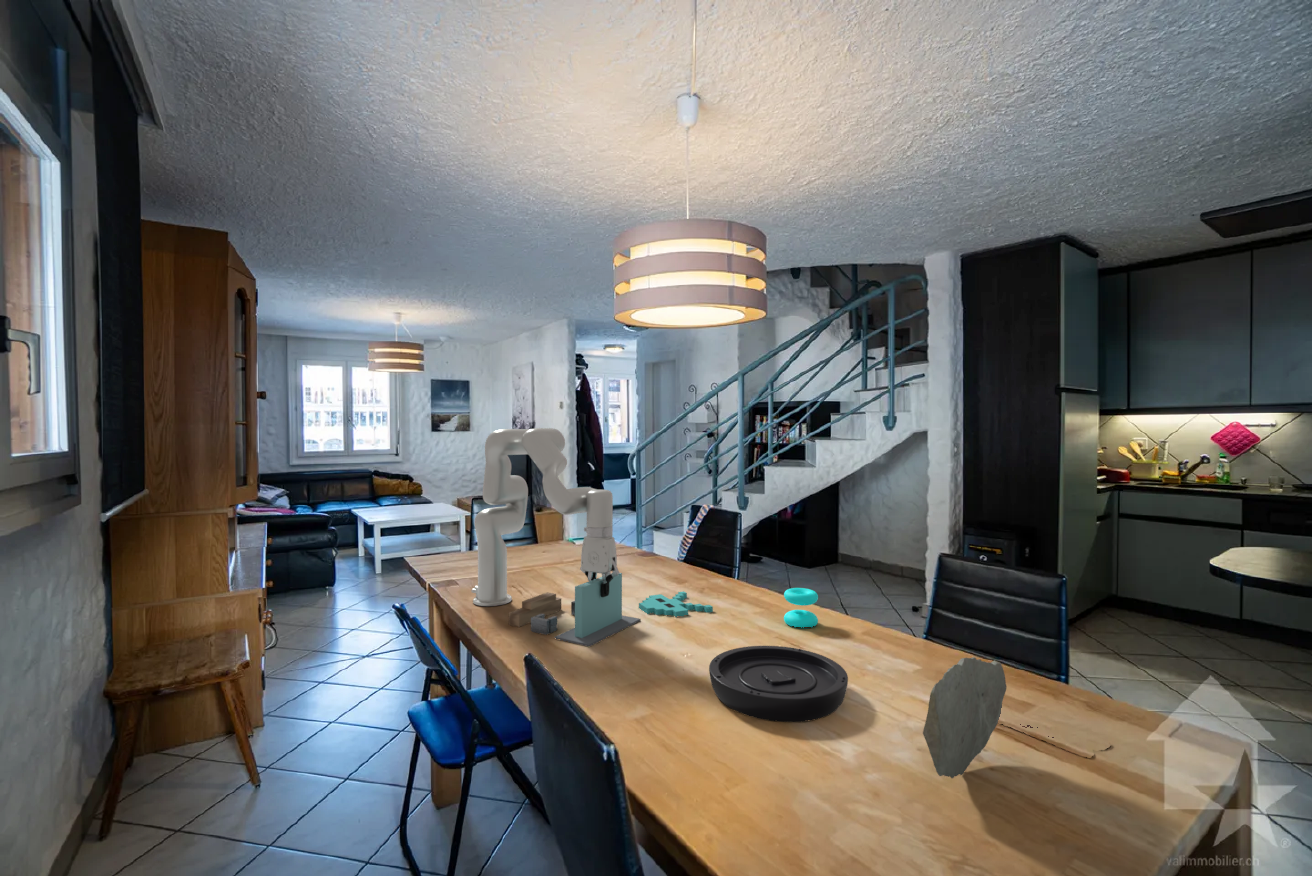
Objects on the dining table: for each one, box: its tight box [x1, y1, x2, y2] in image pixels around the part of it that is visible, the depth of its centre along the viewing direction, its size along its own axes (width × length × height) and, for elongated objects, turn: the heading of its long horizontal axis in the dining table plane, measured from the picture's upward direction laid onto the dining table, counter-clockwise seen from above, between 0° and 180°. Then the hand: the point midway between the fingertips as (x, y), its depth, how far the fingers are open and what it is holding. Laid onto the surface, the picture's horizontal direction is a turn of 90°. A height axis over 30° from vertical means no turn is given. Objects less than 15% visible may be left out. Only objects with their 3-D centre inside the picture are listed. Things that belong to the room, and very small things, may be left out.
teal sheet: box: [574, 572, 623, 638], centre depth 178 cm, size 2×20×14 cm, turn 150°
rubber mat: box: [554, 614, 641, 647], centre depth 178 cm, size 12×26×1 cm, turn 150°
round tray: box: [708, 645, 849, 723], centre depth 136 cm, size 30×6×30 cm
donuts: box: [783, 587, 819, 629], centre depth 184 cm, size 10×10×10 cm
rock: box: [922, 656, 1007, 779], centre depth 104 cm, size 27×6×20 cm, turn 135°
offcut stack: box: [508, 592, 562, 628], centre depth 190 cm, size 4×20×6 cm, turn 151°
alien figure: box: [638, 591, 714, 618], centre depth 201 cm, size 20×2×20 cm
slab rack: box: [530, 600, 575, 636], centre depth 185 cm, size 6×23×4 cm, turn 150°
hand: (599, 594), depth 178 cm, fingers open, 3 cm apart
